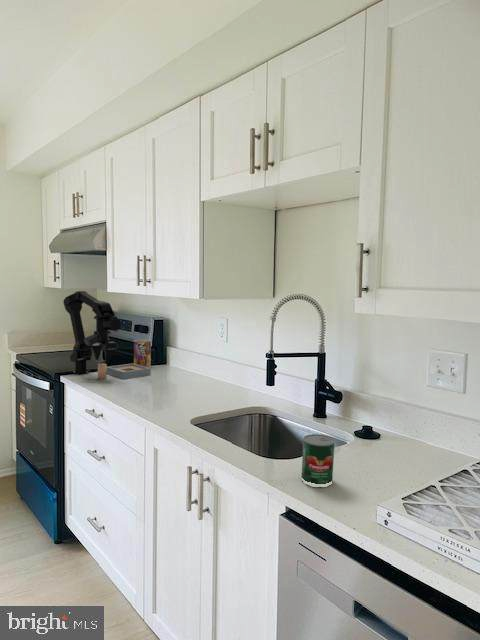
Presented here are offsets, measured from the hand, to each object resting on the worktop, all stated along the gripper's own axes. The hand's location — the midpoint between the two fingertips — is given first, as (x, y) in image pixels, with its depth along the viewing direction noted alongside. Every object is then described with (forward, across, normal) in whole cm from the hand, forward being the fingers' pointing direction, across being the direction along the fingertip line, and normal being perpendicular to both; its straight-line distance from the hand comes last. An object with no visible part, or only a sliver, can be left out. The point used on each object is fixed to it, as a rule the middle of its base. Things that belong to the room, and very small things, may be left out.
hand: (102, 361), depth 227 cm
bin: (+8, -1, +15) cm, 17 cm away
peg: (+8, 0, 0) cm, 9 cm away
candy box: (+9, -11, +30) cm, 33 cm away
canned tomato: (+8, +137, -16) cm, 138 cm away
